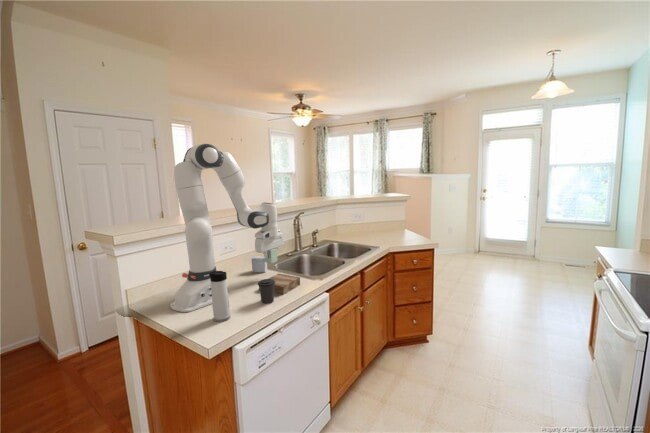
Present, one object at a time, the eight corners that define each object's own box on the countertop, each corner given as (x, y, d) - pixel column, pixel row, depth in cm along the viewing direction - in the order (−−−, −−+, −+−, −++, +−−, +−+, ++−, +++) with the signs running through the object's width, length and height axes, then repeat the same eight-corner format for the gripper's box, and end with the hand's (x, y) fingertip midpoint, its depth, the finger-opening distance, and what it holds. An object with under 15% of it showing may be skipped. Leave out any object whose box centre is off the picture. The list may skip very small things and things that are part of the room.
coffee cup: (268, 306, 131) (266, 284, 129) (254, 302, 135) (253, 281, 133) (280, 299, 137) (279, 278, 136) (267, 296, 142) (265, 276, 140)
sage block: (271, 263, 161) (271, 250, 160) (264, 262, 164) (263, 249, 163) (277, 261, 166) (277, 248, 165) (270, 259, 168) (270, 247, 167)
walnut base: (283, 294, 143) (283, 286, 142) (261, 289, 150) (260, 282, 149) (300, 284, 155) (299, 277, 154) (278, 280, 162) (278, 273, 161)
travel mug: (210, 320, 120) (205, 272, 117) (223, 313, 126) (219, 267, 123) (219, 324, 117) (215, 275, 114) (233, 317, 122) (229, 270, 119)
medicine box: (267, 270, 180) (266, 256, 178) (265, 272, 175) (264, 258, 174) (254, 270, 180) (253, 256, 179) (252, 272, 176) (251, 258, 175)
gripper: (277, 228, 173) (278, 251, 175) (252, 235, 155) (253, 260, 157) (286, 229, 170) (287, 253, 172) (261, 236, 152) (262, 262, 154)
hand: (270, 256), depth 164 cm, fingers closed on sage block, 5 cm apart
